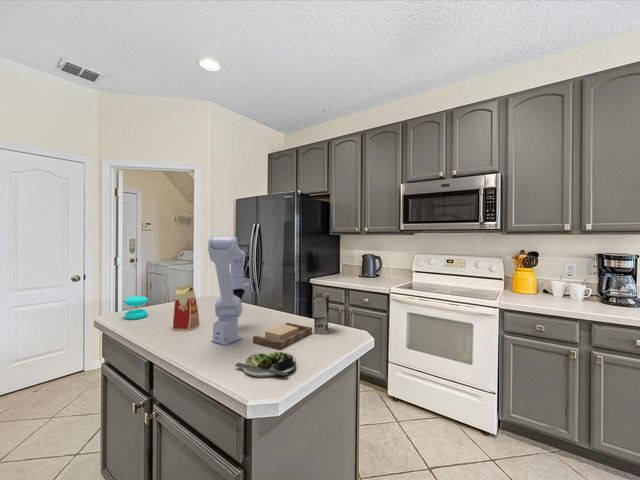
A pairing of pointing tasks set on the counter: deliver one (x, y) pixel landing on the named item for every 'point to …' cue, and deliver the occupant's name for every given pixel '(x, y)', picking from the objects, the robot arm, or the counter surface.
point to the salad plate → (269, 364)
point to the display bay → (285, 342)
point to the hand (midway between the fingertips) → (236, 305)
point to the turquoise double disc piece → (136, 312)
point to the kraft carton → (281, 332)
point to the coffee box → (321, 313)
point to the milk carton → (185, 309)
